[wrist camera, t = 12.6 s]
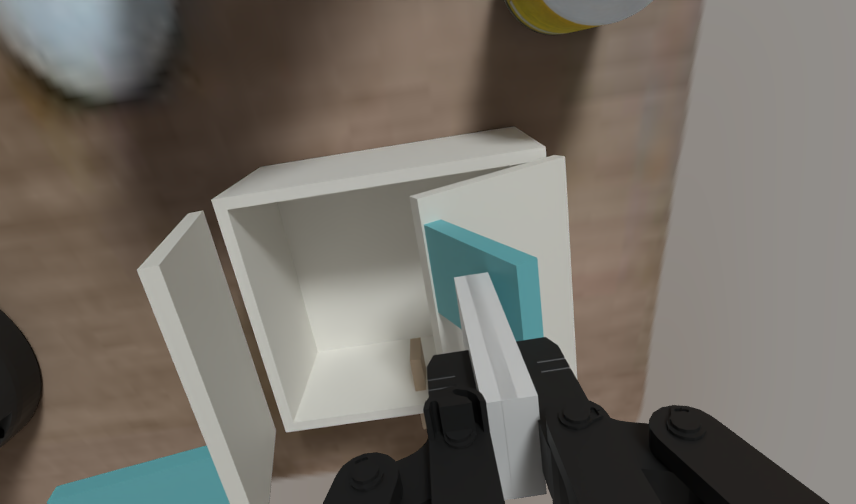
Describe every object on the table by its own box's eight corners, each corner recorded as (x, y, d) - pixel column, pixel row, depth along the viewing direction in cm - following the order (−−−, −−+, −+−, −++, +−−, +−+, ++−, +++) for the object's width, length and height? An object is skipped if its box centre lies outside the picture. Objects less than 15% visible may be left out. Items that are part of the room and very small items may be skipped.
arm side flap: (275, 430, 28) (152, 464, 27) (203, 210, 24) (50, 240, 22) (265, 545, 21) (98, 597, 20) (158, 265, 17) (-66, 313, 15)
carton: (320, 381, 37) (295, 462, 29) (260, 166, 31) (211, 199, 24) (534, 350, 36) (564, 425, 29) (514, 126, 30) (545, 147, 23)
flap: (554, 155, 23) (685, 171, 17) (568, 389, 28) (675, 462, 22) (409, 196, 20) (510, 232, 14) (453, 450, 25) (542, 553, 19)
